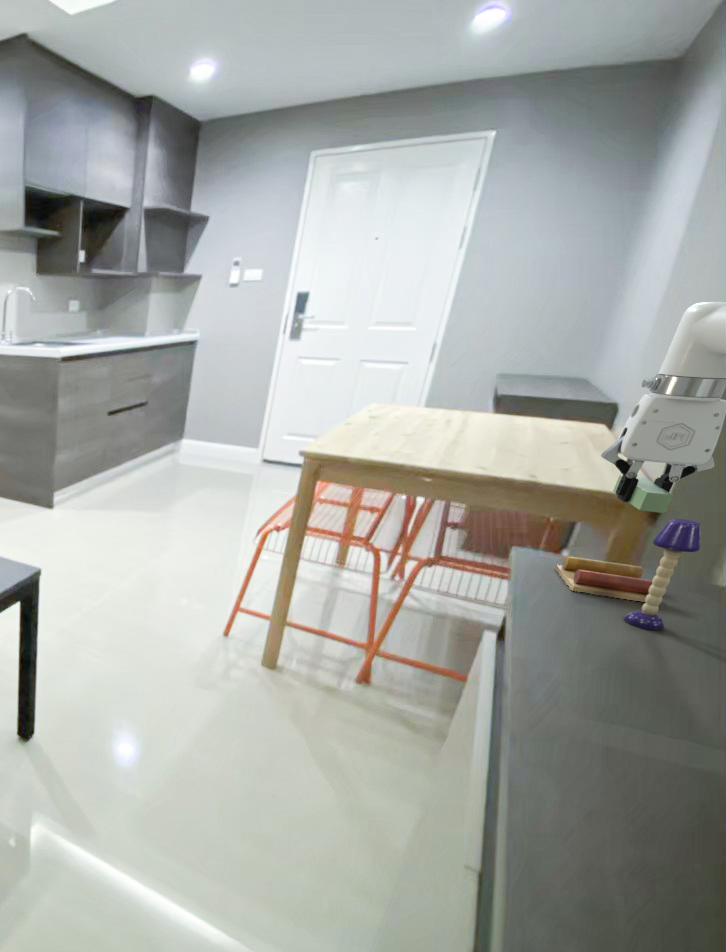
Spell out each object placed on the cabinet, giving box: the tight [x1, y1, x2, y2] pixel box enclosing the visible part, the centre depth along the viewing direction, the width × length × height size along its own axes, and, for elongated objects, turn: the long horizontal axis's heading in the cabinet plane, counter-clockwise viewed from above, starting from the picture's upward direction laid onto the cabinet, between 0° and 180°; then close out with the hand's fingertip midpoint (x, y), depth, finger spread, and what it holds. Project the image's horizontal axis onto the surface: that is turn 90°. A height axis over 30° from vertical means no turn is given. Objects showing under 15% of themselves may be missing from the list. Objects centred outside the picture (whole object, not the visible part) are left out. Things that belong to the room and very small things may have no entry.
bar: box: [612, 474, 674, 514], centre depth 100 cm, size 12×3×3 cm, turn 151°
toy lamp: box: [624, 518, 701, 631], centre depth 91 cm, size 5×5×17 cm
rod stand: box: [554, 555, 653, 603], centre depth 106 cm, size 11×11×3 cm
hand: (638, 500), depth 100 cm, fingers closed on bar, 3 cm apart
